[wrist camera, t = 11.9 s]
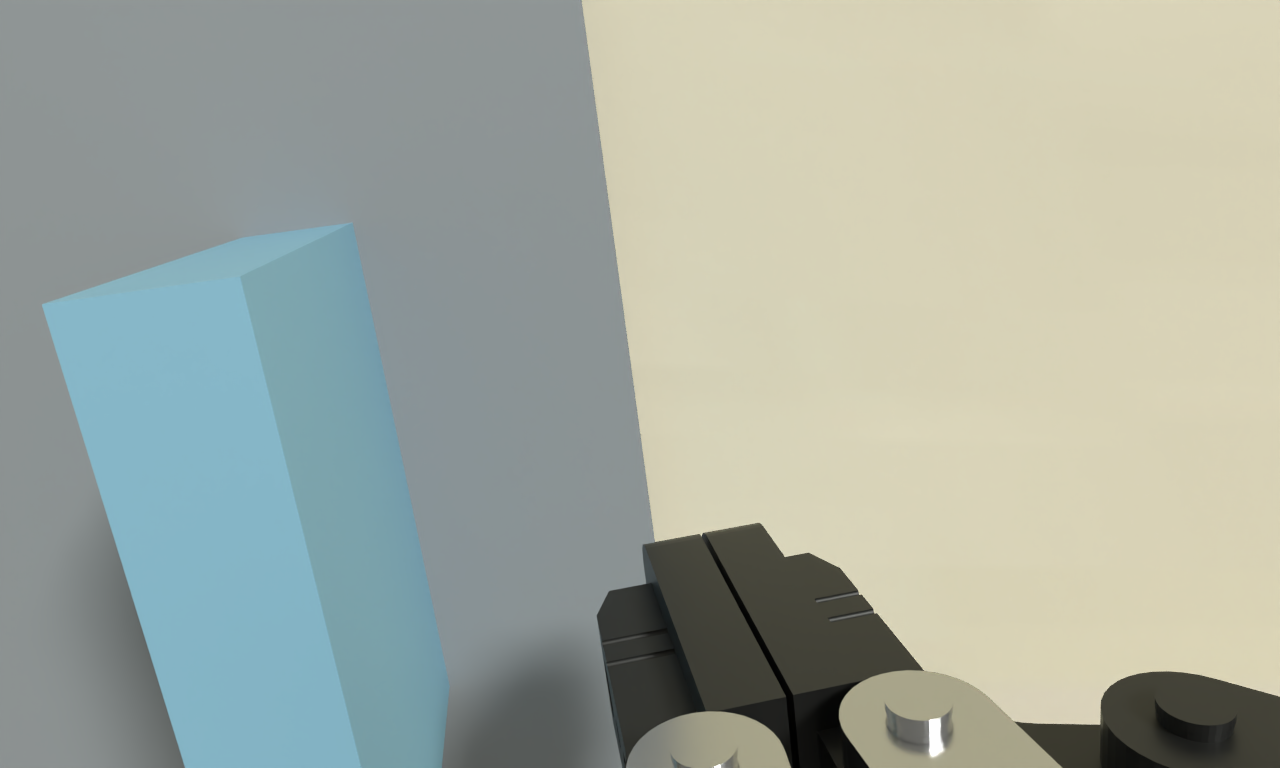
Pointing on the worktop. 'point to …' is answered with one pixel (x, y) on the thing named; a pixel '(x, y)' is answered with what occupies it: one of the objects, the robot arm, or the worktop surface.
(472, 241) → the mat
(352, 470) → the block
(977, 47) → the worktop surface
